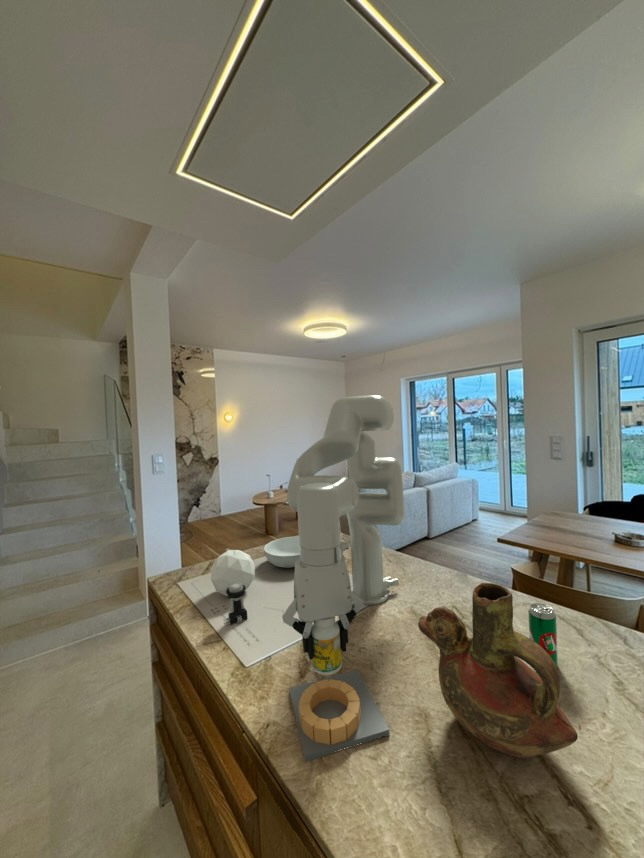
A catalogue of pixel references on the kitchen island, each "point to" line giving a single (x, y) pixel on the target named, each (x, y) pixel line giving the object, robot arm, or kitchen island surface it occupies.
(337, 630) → the supplement bottle
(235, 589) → the push button
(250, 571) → the geodesic sphere
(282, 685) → the kitchen island surface
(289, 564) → the serving bowl
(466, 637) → the ceramic vessel
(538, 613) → the soda can
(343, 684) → the collar
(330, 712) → the plate
